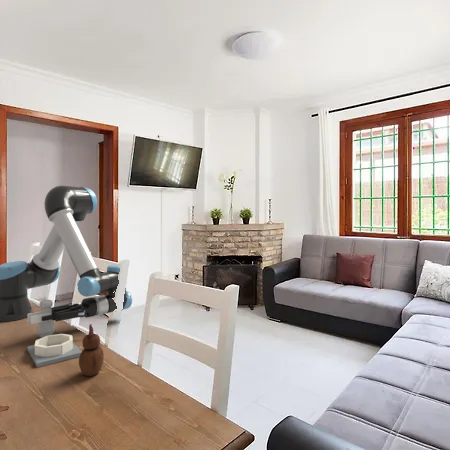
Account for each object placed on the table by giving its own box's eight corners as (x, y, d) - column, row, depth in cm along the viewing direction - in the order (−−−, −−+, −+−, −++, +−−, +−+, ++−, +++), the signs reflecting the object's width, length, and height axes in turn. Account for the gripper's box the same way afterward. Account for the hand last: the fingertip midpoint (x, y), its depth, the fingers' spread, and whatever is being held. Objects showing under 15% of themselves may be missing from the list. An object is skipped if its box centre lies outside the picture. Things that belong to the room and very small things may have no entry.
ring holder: (54, 340, 119) (54, 332, 119) (80, 345, 115) (79, 336, 115) (27, 353, 108) (26, 344, 108) (54, 358, 105) (53, 349, 105)
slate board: (27, 349, 114) (27, 346, 114) (68, 340, 122) (68, 337, 122) (37, 367, 102) (36, 363, 101) (82, 355, 110) (82, 352, 110)
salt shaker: (49, 338, 121) (49, 302, 121) (33, 338, 122) (33, 302, 121) (58, 332, 127) (57, 298, 127) (43, 332, 127) (42, 298, 127)
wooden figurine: (93, 380, 95) (93, 326, 94) (75, 377, 96) (74, 325, 95) (107, 368, 101) (106, 319, 100) (89, 366, 102) (89, 317, 102)
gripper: (103, 320, 131) (36, 335, 115) (85, 311, 143) (22, 323, 126) (103, 301, 131) (36, 313, 114) (85, 293, 142) (22, 303, 126)
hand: (29, 319), depth 120 cm, fingers closed on salt shaker, 3 cm apart
